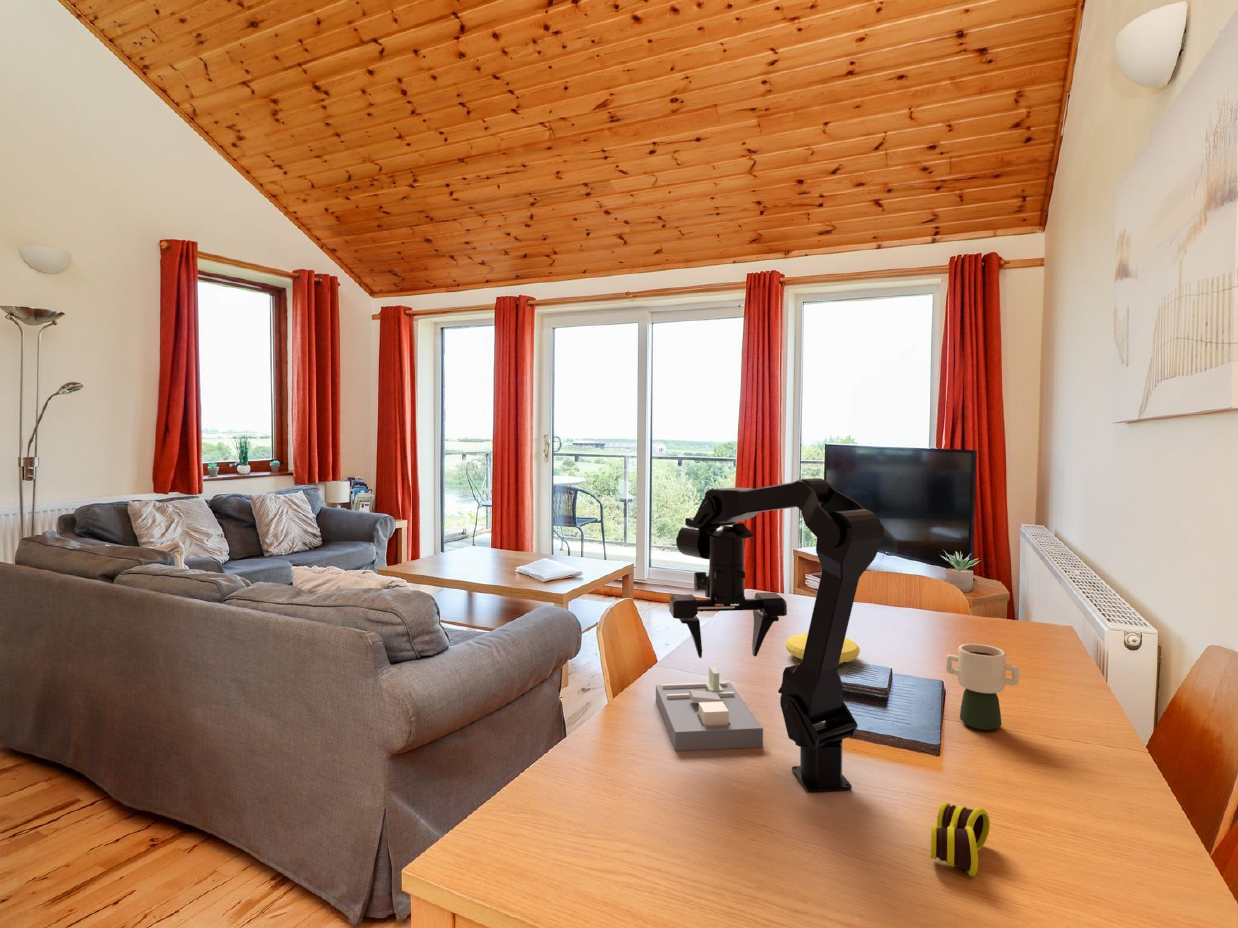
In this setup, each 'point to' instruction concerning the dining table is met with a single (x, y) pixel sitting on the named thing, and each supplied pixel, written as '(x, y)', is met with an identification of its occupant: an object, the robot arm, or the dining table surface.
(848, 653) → the yellow flattened dome
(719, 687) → the slide paddle
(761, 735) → the console
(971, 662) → the character mug
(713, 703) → the push button
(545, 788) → the dining table surface
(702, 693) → the pale grey slab
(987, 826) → the opera glasses
